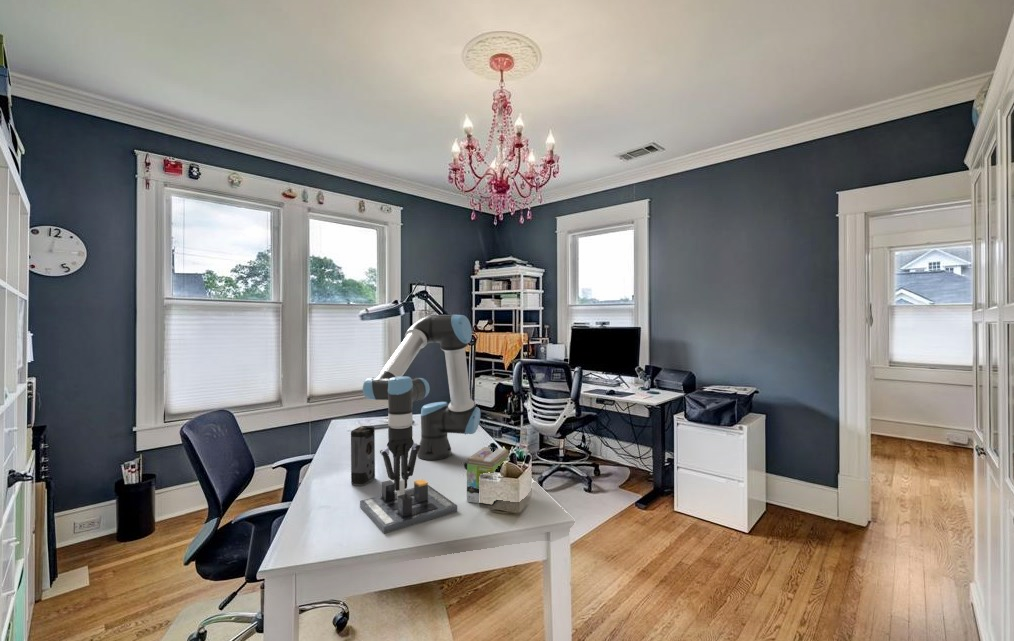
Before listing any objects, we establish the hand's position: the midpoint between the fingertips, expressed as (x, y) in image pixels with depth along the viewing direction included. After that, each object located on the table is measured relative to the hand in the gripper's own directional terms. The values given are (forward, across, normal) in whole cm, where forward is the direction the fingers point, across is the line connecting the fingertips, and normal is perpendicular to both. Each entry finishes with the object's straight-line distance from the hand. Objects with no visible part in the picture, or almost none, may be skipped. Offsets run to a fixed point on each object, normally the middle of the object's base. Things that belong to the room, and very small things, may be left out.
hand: (400, 499), depth 141 cm
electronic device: (+4, +1, -33) cm, 33 cm away
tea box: (+4, -30, +6) cm, 30 cm away
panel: (+4, -2, 0) cm, 5 cm away
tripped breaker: (+2, -7, 0) cm, 7 cm away
